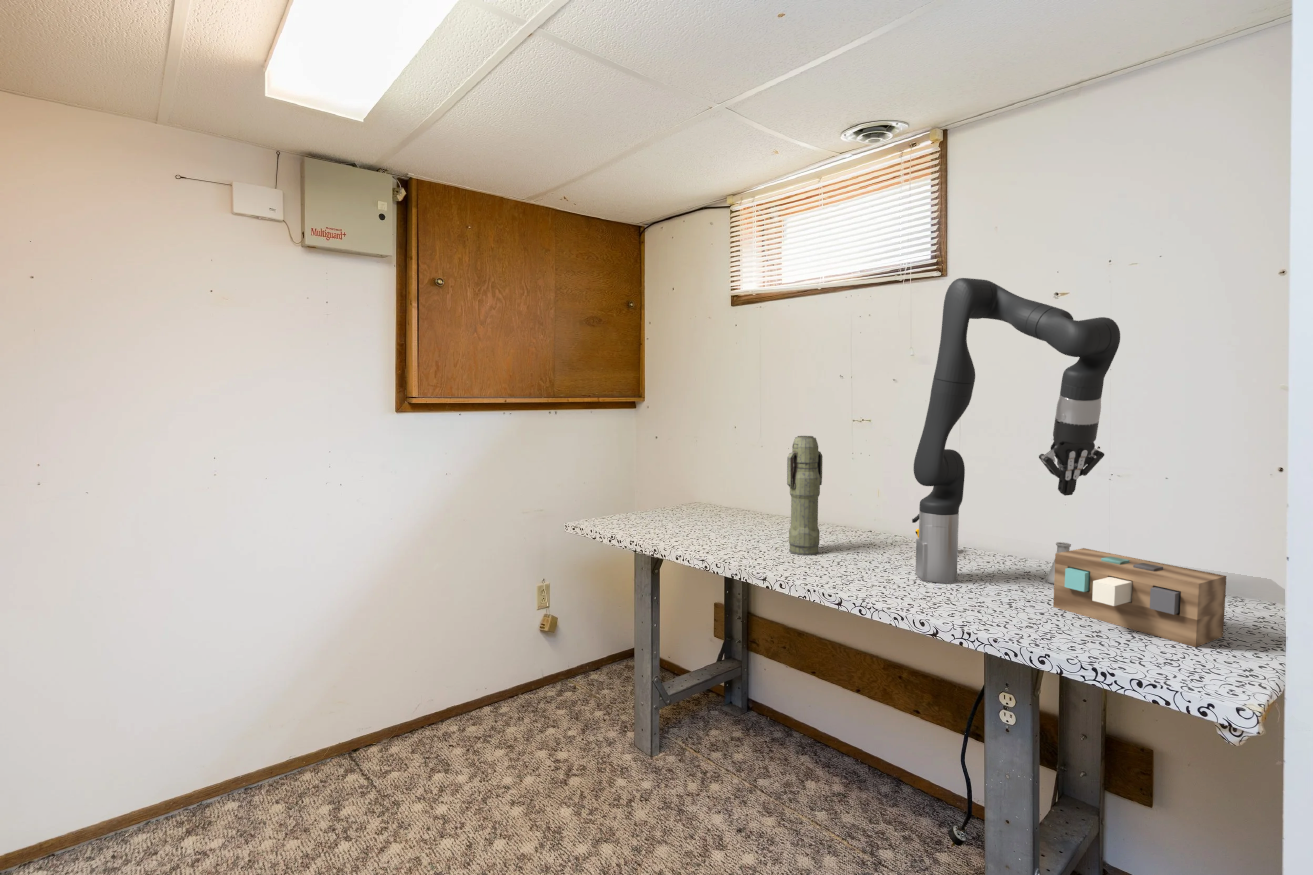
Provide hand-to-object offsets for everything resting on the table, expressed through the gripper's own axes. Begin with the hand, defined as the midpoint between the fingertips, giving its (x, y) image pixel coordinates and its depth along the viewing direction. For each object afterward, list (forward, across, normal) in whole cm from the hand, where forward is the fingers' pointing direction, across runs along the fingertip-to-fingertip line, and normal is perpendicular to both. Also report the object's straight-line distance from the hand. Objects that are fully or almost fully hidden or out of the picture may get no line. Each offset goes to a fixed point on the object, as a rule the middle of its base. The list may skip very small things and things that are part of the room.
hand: (1065, 493), depth 136 cm
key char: (+17, -11, +19) cm, 28 cm away
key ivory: (+18, -4, +14) cm, 23 cm away
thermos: (+37, +44, -48) cm, 75 cm away
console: (+24, -9, +13) cm, 29 cm away
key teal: (+20, -4, +5) cm, 21 cm away
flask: (+33, -13, -14) cm, 38 cm away
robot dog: (+39, +8, -41) cm, 57 cm away
